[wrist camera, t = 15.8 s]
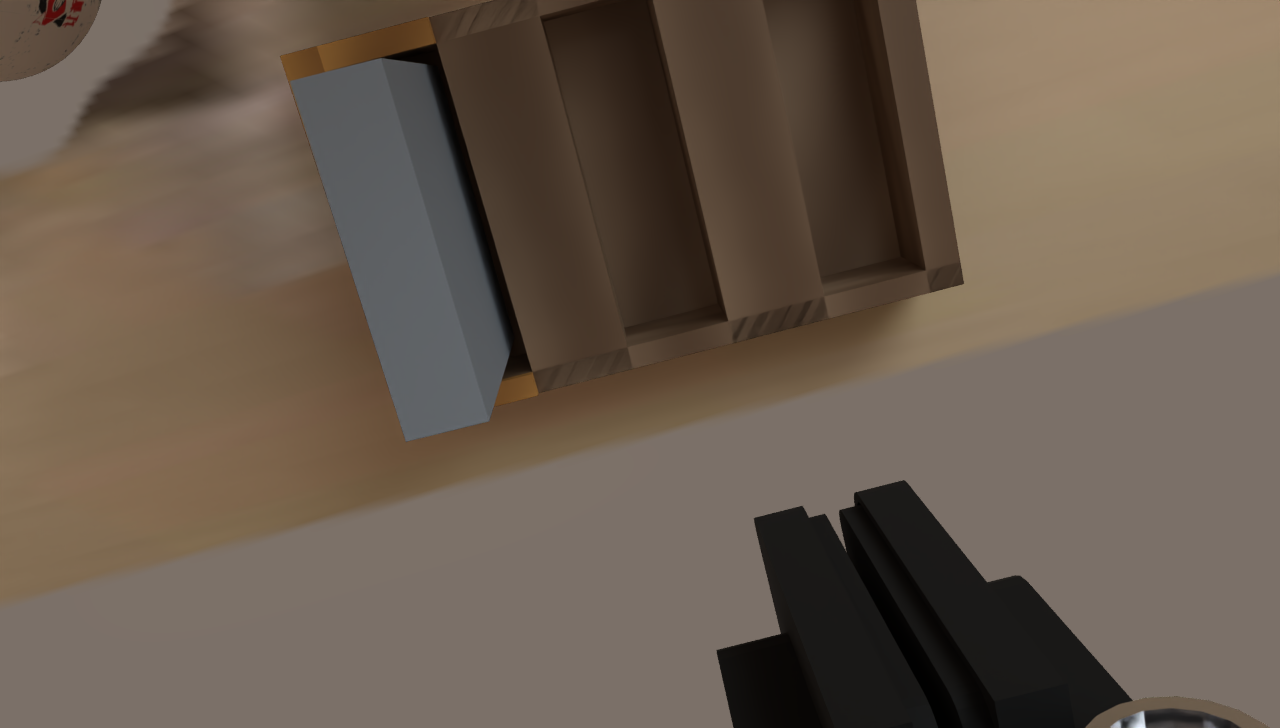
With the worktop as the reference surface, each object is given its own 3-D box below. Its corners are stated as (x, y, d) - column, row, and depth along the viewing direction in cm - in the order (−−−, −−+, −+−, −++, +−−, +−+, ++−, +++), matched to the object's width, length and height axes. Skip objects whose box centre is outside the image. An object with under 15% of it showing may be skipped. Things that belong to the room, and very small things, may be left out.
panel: (452, 353, 38) (406, 441, 29) (370, 82, 36) (289, 80, 26) (514, 337, 38) (489, 421, 29) (437, 65, 36) (380, 57, 26)
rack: (425, 390, 40) (404, 430, 36) (318, 60, 37) (279, 56, 32) (923, 262, 40) (967, 285, 35) (861, -84, 37) (900, -109, 32)
